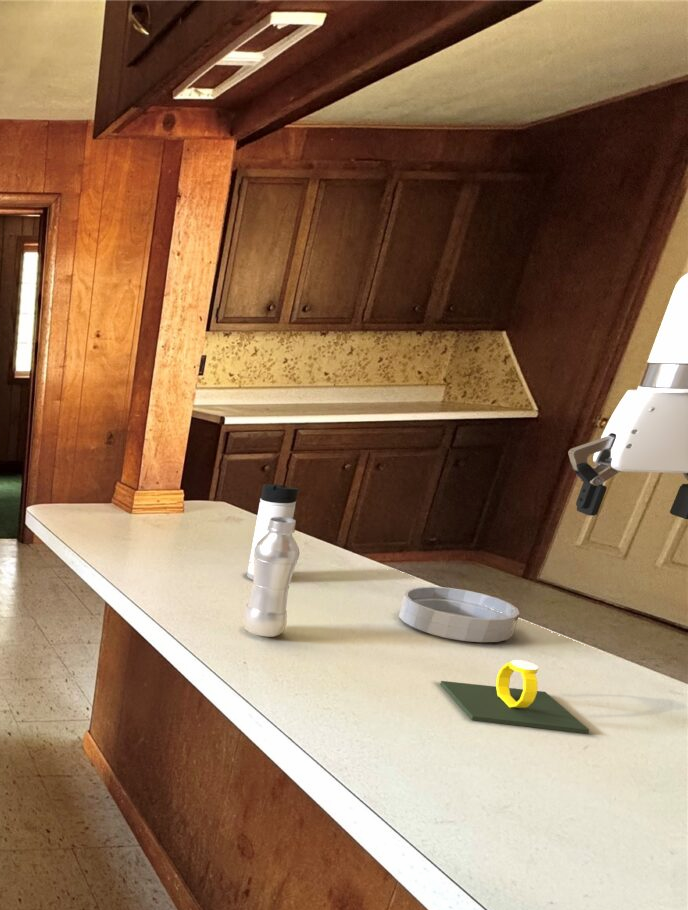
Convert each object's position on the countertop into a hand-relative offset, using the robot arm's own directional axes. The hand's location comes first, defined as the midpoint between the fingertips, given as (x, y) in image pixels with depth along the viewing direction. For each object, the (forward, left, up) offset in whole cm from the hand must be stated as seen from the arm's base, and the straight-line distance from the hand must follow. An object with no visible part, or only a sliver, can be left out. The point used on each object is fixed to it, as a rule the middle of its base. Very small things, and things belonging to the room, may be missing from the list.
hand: (632, 515), depth 87 cm
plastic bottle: (+39, -6, -24) cm, 46 cm away
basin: (+8, -17, -24) cm, 31 cm away
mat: (+12, +12, -24) cm, 30 cm away
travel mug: (+34, -36, -24) cm, 55 cm away
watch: (+12, +12, -24) cm, 29 cm away
